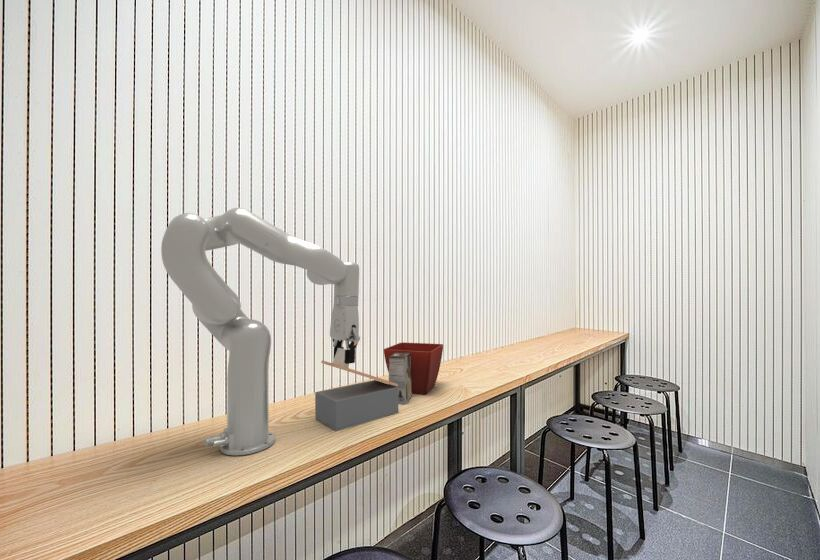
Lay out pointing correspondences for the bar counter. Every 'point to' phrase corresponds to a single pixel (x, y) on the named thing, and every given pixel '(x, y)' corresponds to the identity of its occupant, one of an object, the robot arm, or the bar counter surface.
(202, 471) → the bar counter surface
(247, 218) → the robot arm
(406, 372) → the coffee box
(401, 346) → the plant pot
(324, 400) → the carton
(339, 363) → the lid
